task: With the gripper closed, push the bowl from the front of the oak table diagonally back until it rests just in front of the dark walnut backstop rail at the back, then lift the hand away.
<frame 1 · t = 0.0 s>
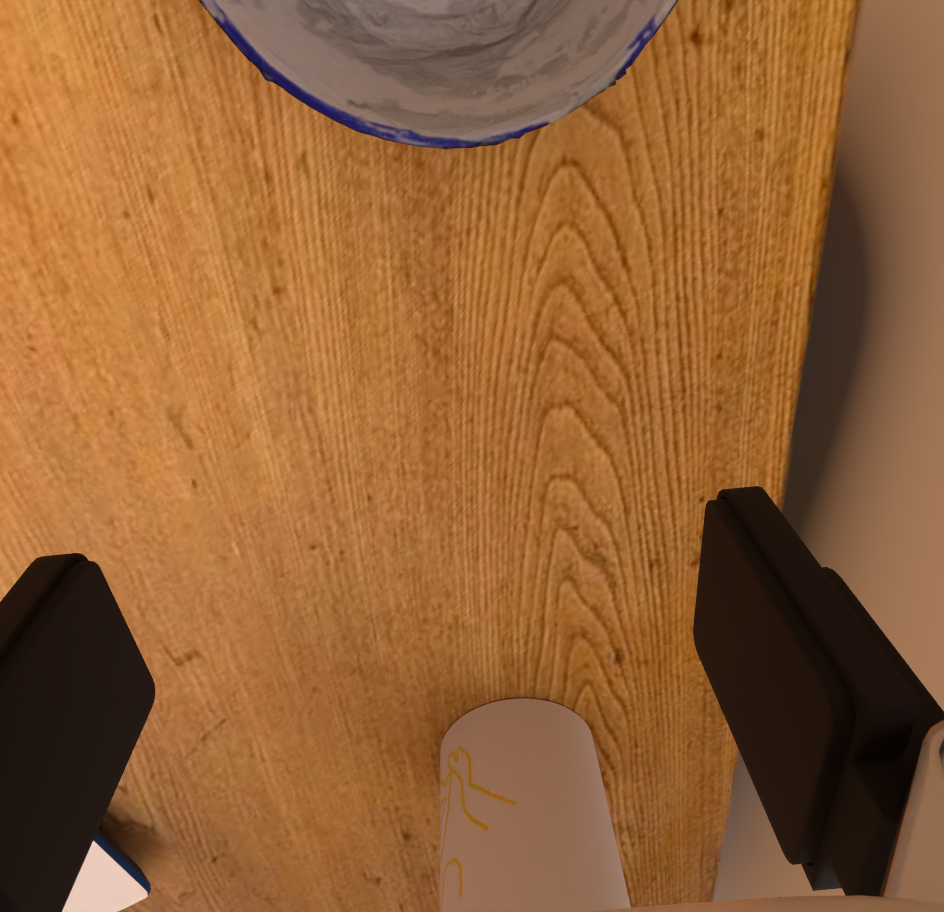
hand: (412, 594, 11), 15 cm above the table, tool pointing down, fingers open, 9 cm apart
pink tall cylinder: (516, 747, 37), on the table
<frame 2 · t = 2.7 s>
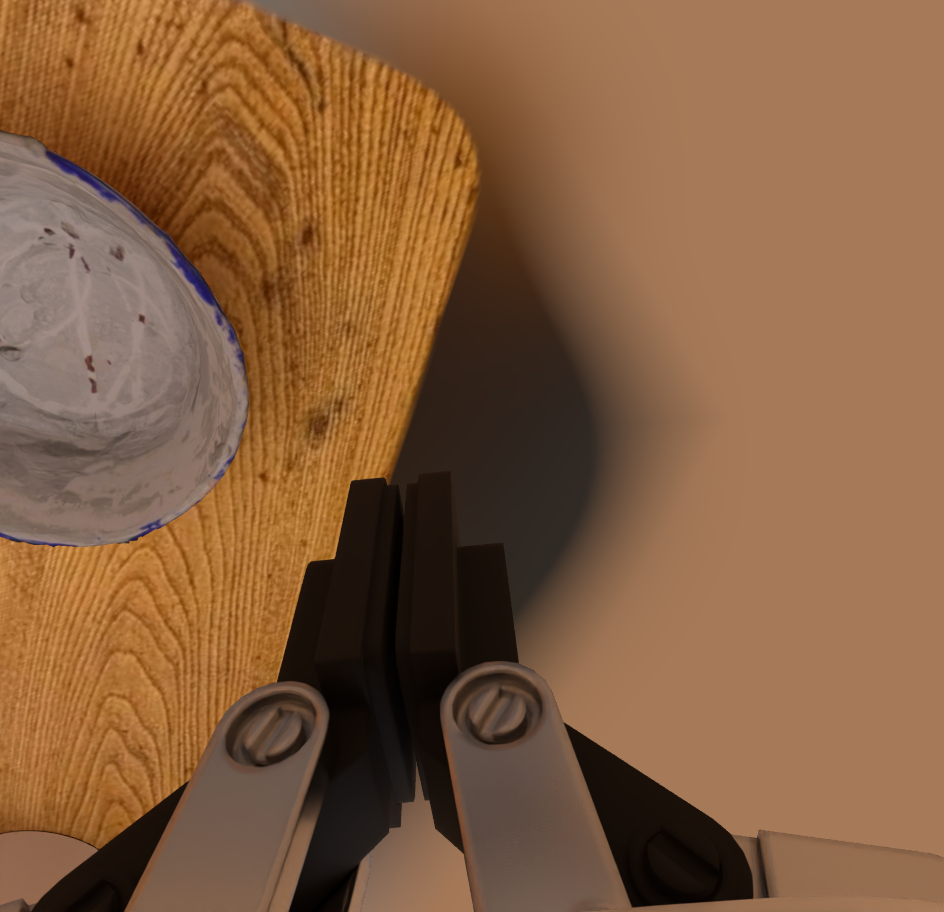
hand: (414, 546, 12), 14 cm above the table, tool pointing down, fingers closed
pink tall cylinder: (47, 866, 41), on the table
bowl: (82, 313, 24), on the table
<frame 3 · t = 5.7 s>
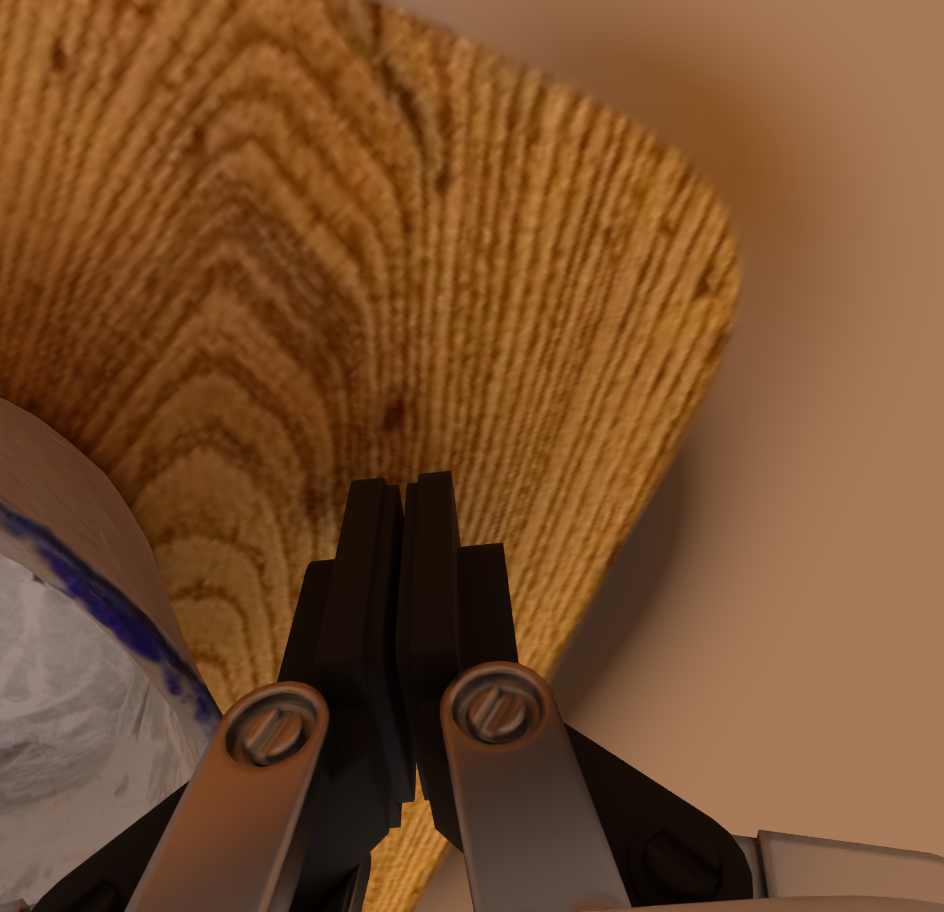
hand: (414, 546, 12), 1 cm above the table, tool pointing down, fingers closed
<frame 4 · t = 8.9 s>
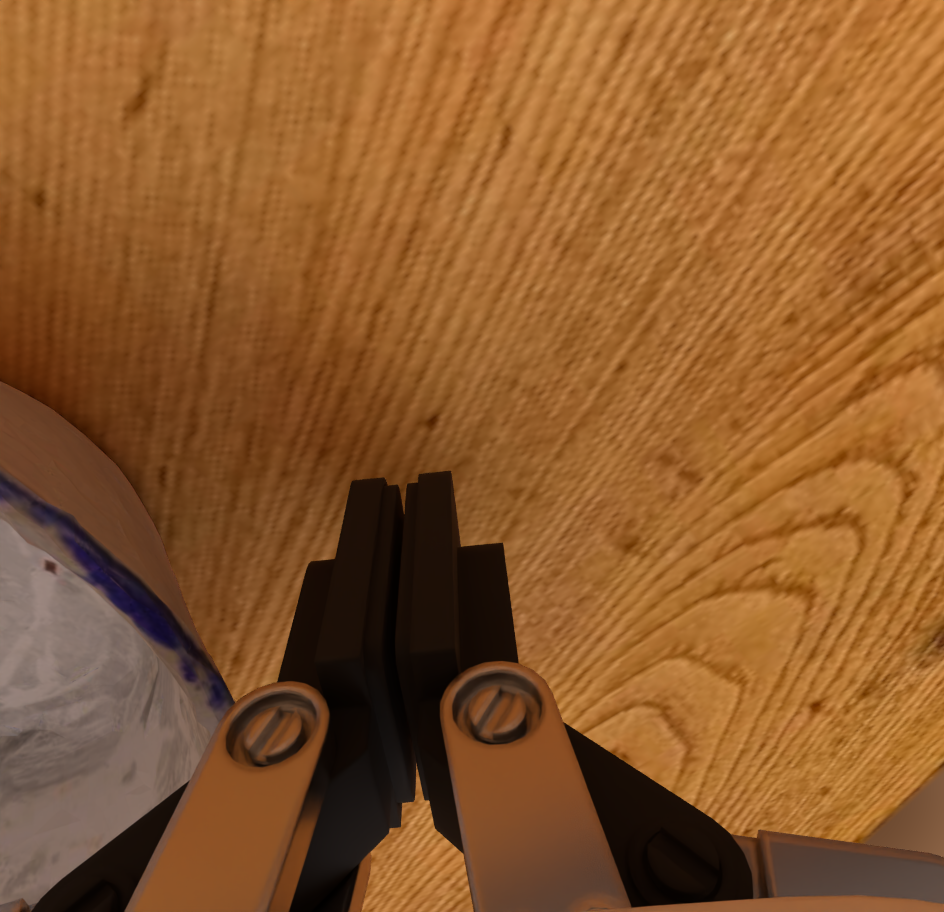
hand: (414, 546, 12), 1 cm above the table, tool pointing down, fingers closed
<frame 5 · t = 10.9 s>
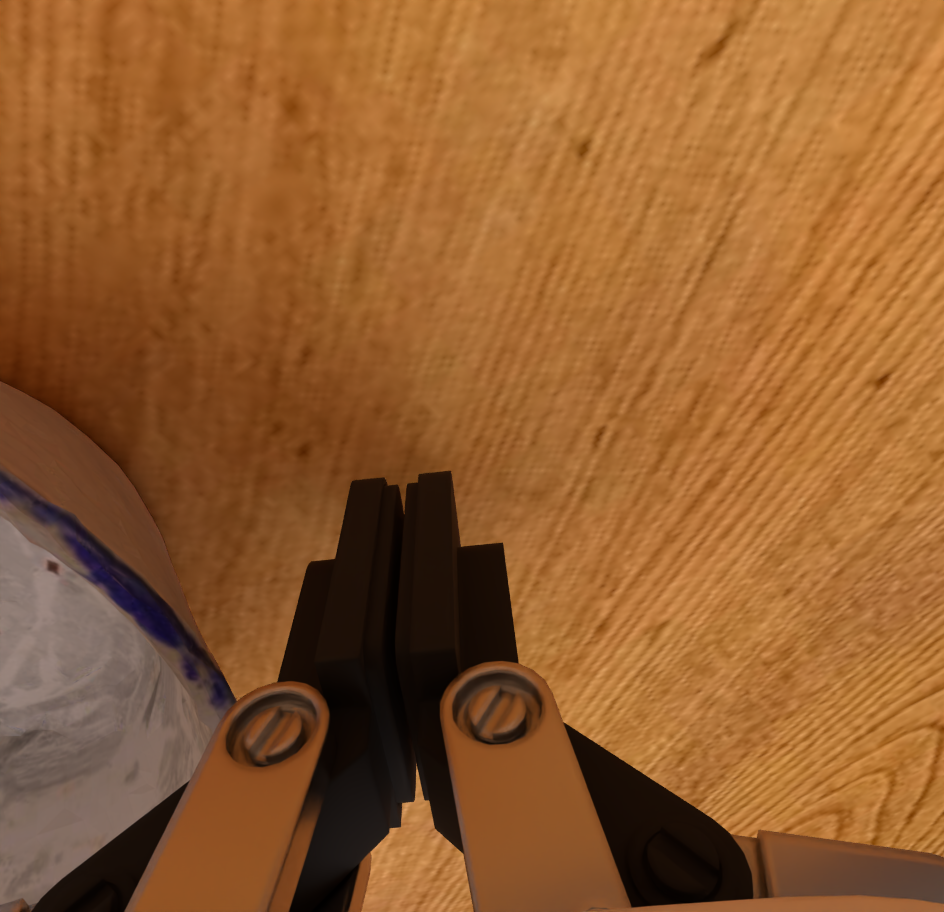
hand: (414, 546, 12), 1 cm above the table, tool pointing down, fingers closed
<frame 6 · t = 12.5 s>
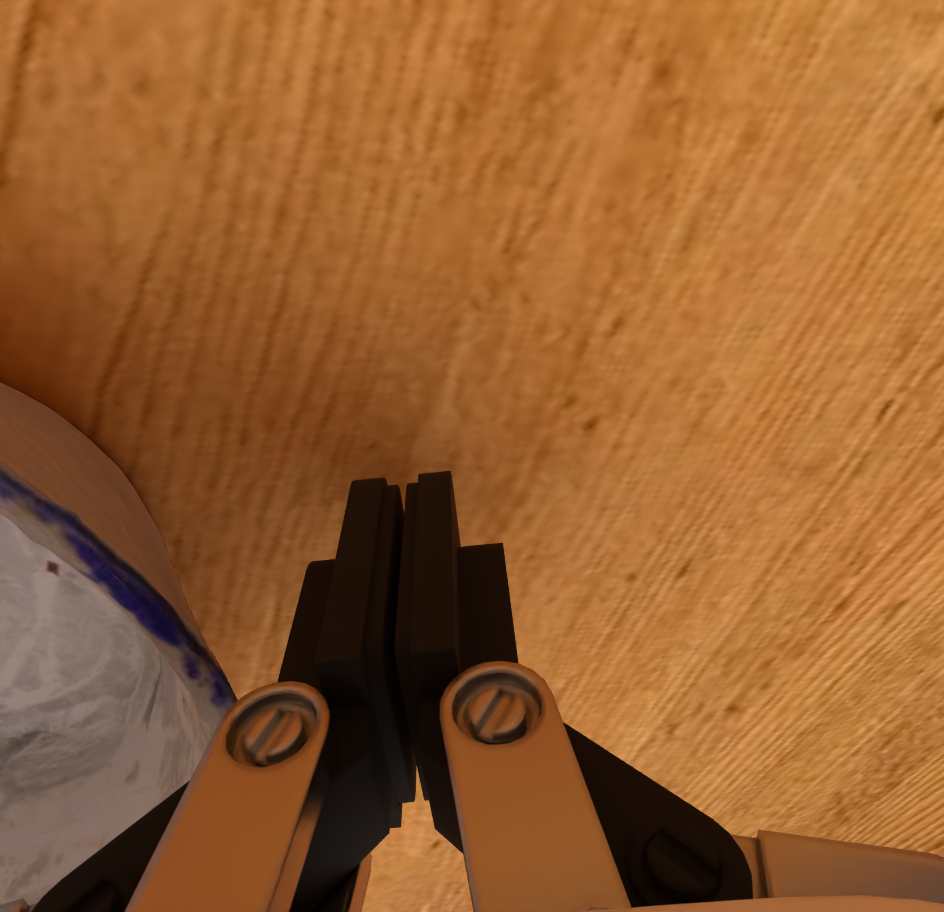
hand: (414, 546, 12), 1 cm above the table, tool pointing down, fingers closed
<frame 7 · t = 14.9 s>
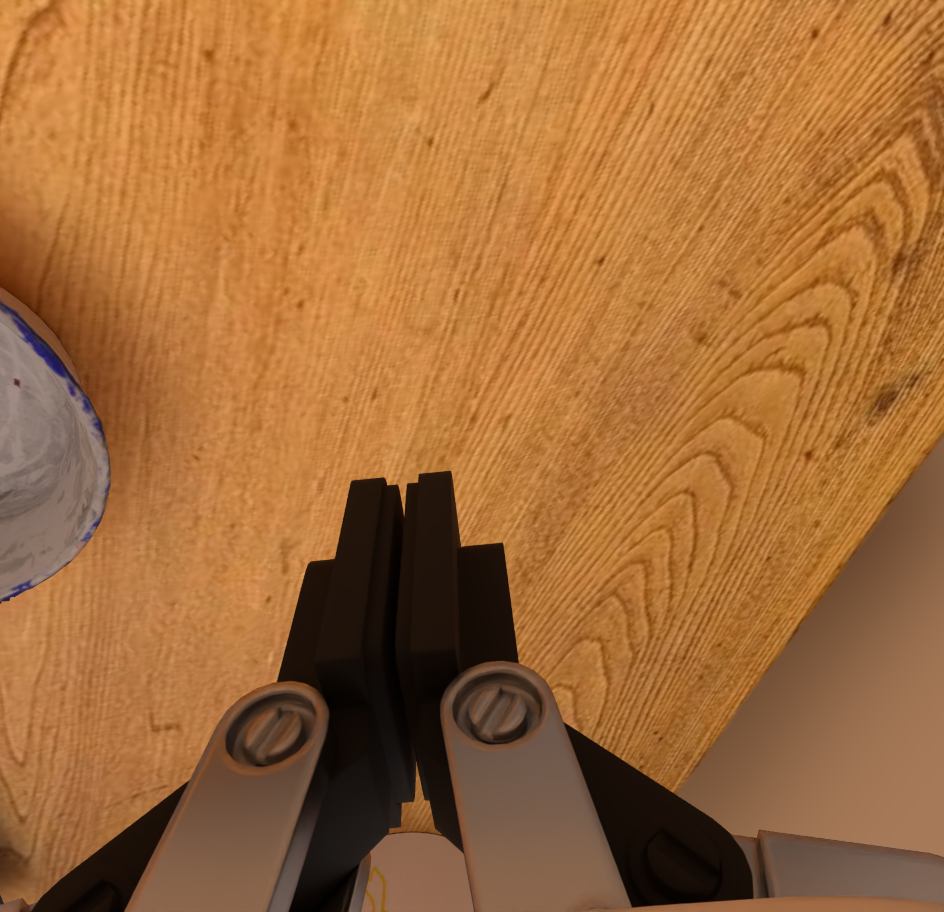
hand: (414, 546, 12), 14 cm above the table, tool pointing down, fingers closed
pink tall cylinder: (410, 871, 40), on the table
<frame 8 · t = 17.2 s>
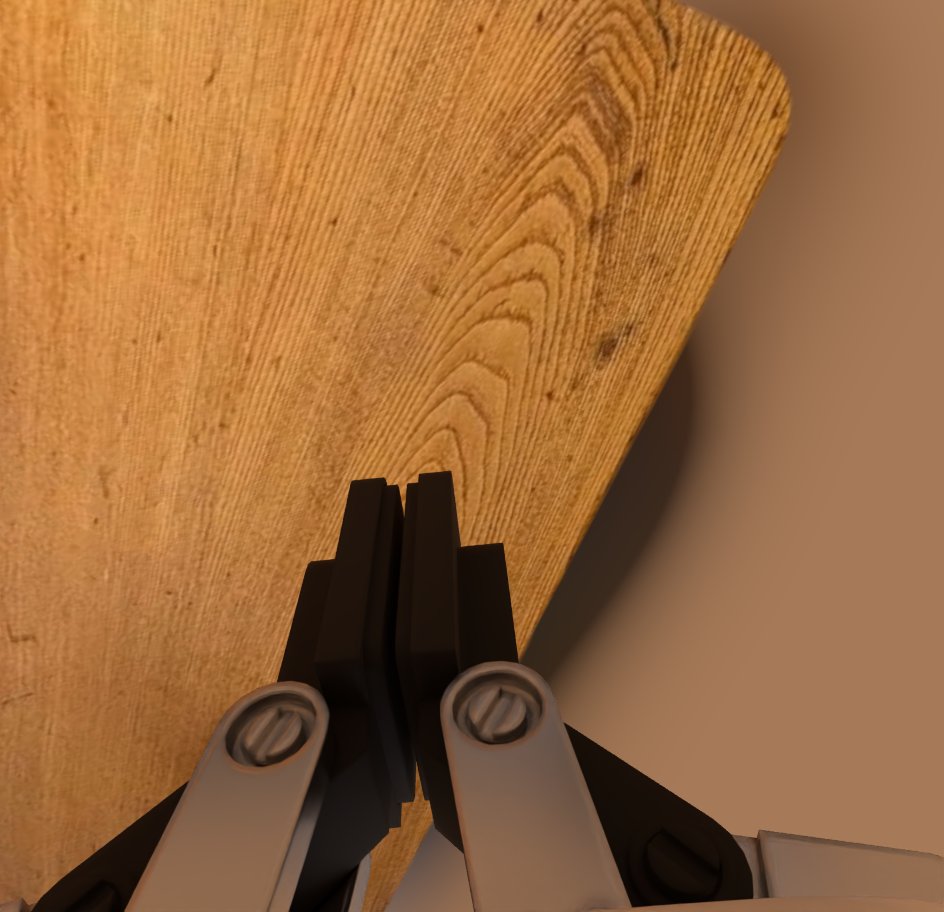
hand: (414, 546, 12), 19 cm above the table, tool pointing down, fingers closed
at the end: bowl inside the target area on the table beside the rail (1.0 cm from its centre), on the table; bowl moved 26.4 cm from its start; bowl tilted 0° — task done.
